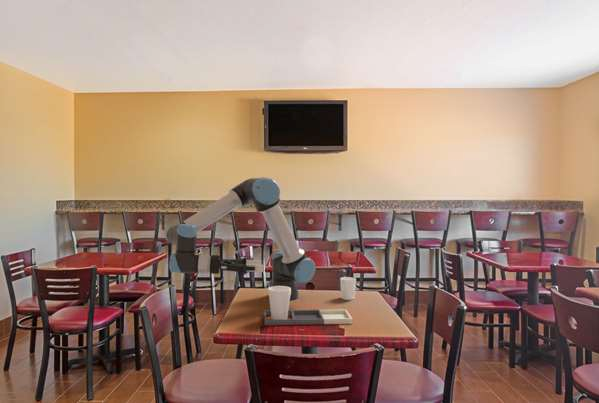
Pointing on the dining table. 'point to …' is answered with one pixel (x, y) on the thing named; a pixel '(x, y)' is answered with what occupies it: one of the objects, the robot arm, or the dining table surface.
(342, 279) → the white cup
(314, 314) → the grey flat rectangular tray
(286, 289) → the foam cup
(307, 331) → the dining table surface
